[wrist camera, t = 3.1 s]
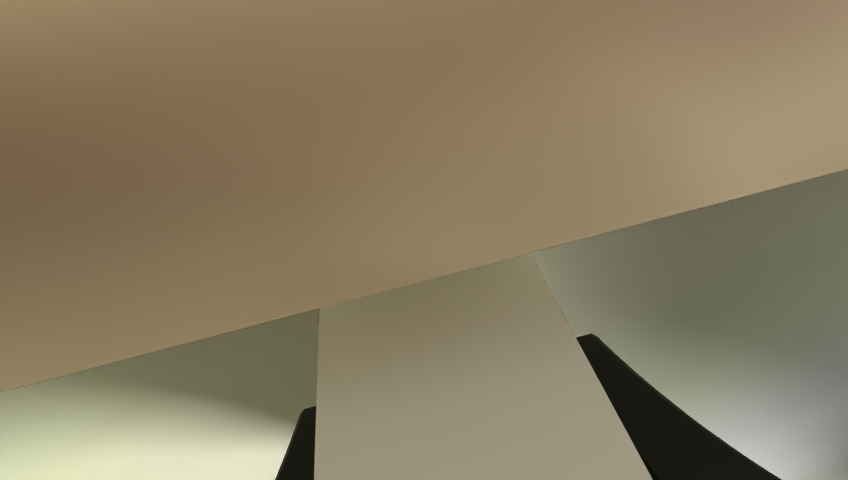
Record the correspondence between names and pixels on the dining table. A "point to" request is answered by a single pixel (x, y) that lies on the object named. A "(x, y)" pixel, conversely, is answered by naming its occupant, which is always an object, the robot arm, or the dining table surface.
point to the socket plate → (367, 147)
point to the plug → (463, 386)
